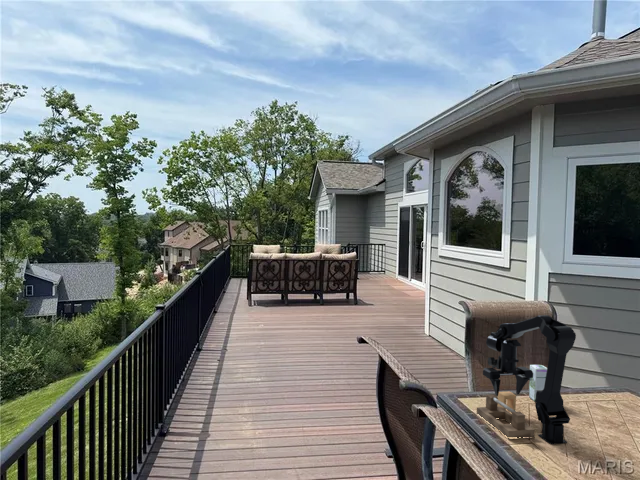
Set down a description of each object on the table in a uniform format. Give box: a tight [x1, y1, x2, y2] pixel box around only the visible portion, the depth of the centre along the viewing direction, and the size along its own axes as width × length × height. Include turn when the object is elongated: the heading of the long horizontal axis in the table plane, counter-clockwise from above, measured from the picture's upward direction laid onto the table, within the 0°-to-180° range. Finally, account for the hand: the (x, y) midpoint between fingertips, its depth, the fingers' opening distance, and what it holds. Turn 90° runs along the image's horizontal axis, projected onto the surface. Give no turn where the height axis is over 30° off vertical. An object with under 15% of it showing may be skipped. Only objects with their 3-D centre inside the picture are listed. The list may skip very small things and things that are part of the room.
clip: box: [497, 391, 517, 414], centre depth 170 cm, size 4×5×8 cm
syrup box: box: [528, 364, 547, 402], centre depth 184 cm, size 6×6×14 cm
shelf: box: [476, 394, 536, 438], centre depth 158 cm, size 20×10×8 cm, turn 11°
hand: (507, 394), depth 170 cm, fingers open, 9 cm apart
